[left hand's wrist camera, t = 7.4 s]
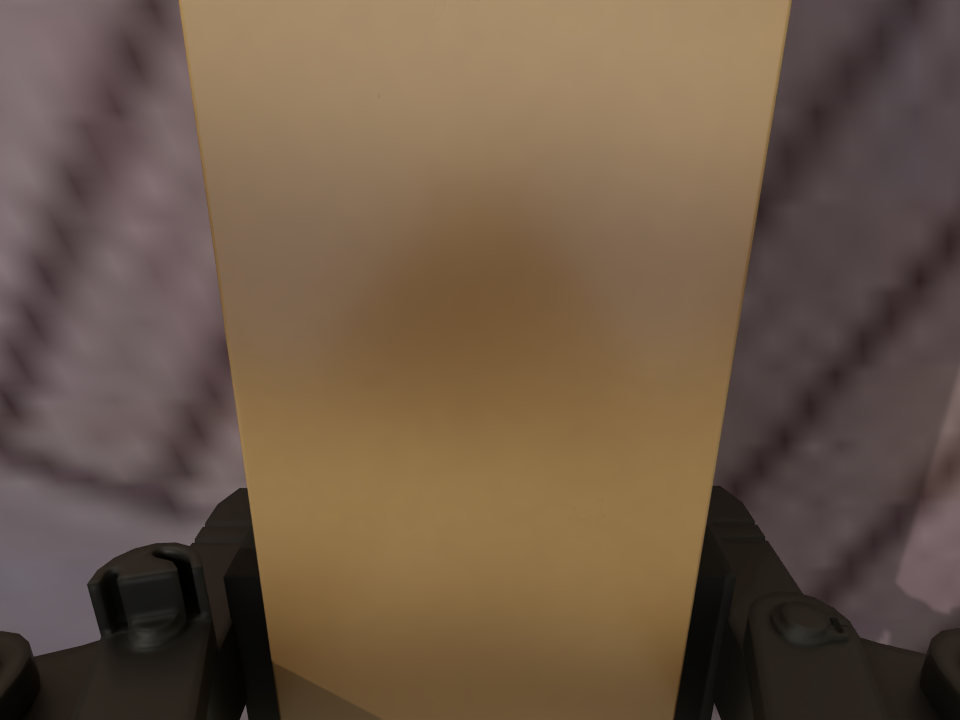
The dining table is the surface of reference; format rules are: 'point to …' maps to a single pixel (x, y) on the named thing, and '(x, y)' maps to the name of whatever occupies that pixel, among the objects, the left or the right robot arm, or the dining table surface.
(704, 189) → the bar
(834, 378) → the dining table surface
